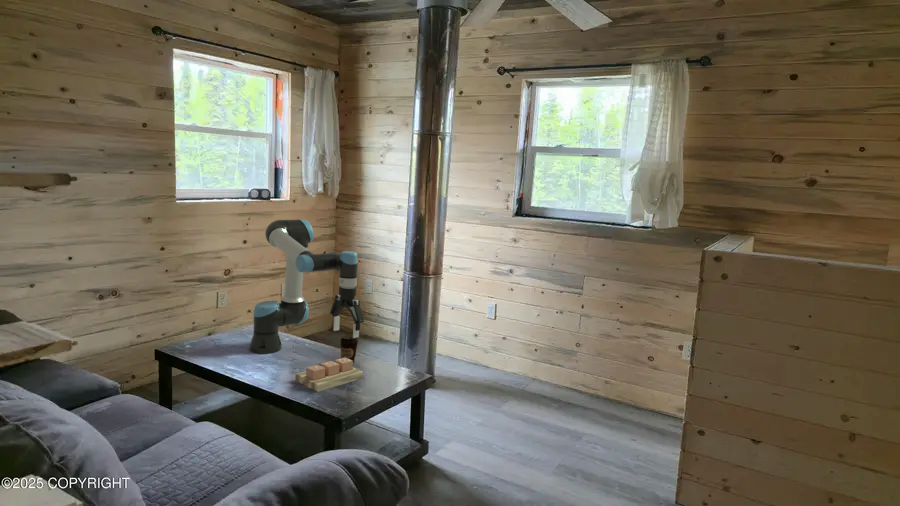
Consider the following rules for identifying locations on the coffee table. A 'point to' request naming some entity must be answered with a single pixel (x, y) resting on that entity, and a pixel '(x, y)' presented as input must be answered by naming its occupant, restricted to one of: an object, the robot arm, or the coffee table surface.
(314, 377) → the tile one pip
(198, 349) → the coffee table surface
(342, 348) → the coffee cup
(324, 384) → the board
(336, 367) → the tile two pips
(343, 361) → the tile three pips
